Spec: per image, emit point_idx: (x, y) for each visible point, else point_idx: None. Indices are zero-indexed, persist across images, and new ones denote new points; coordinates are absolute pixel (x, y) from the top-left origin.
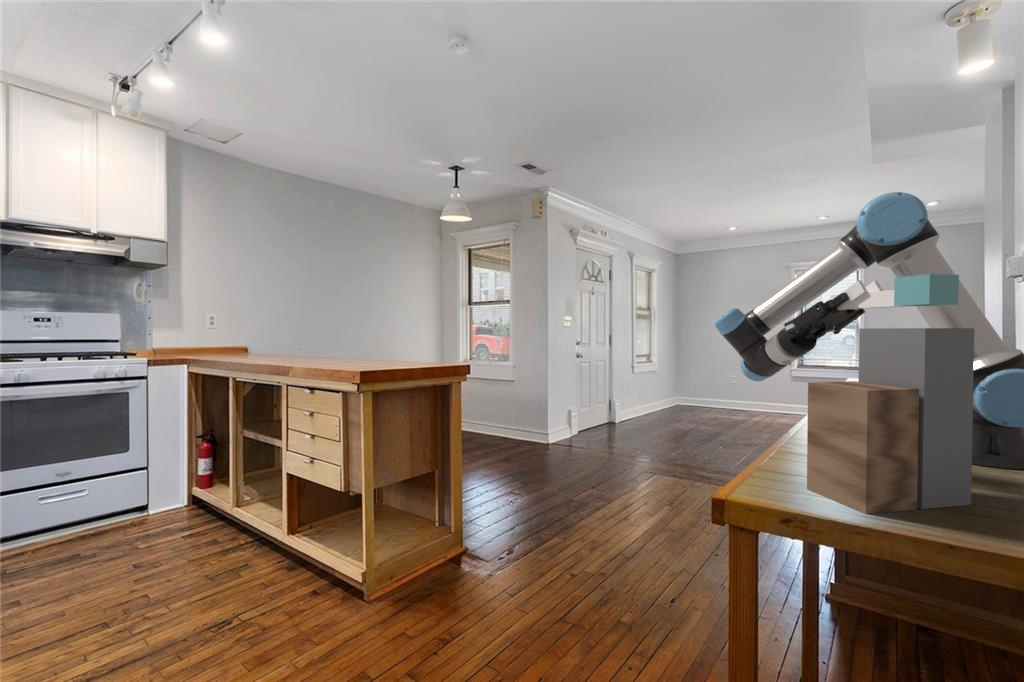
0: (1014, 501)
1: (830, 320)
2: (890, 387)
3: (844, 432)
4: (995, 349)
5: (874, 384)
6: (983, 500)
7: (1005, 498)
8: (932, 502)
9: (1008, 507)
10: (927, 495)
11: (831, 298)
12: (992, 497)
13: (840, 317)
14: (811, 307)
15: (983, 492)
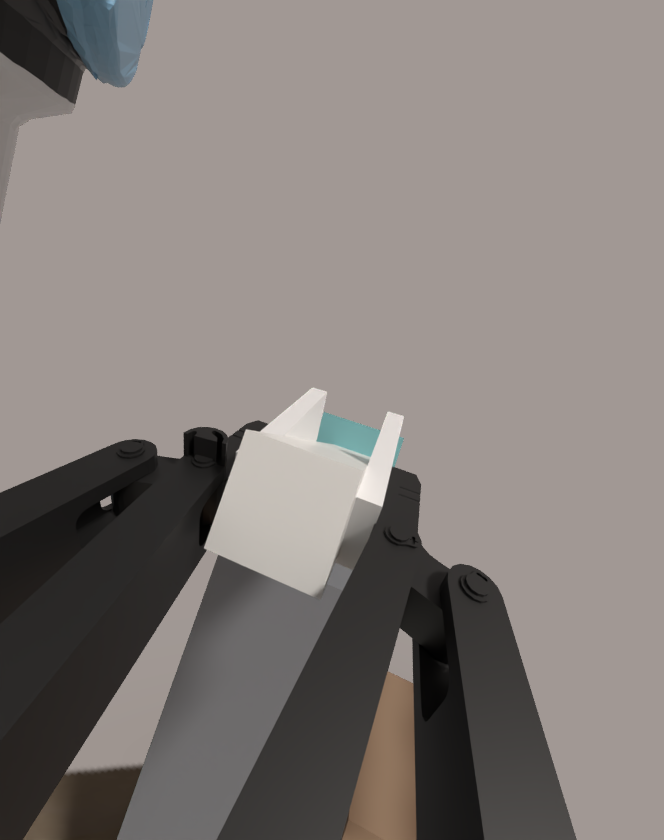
0: (83, 771)
1: (48, 762)
2: (392, 696)
3: None
4: None
5: (373, 736)
6: (111, 815)
7: (66, 786)
8: None
9: (137, 774)
10: None
11: (354, 497)
12: (72, 806)
13: (153, 627)
14: (525, 689)
15: (29, 830)
